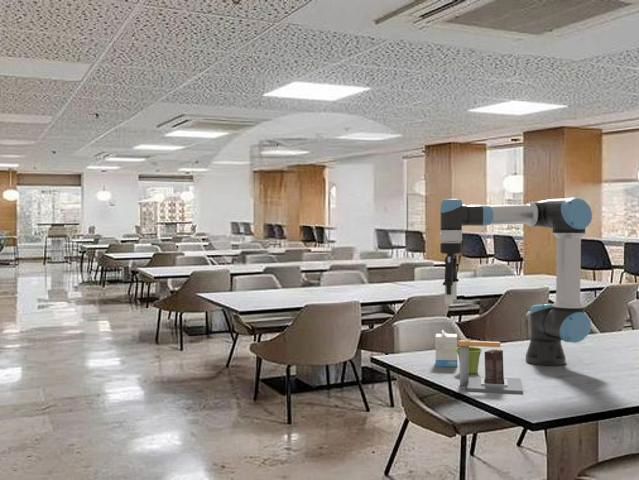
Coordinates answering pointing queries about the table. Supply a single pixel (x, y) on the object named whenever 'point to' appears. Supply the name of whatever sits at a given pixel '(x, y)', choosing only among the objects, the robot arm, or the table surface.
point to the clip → (478, 343)
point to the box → (494, 367)
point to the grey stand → (479, 382)
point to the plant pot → (472, 358)
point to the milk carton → (446, 349)
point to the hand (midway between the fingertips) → (450, 301)
